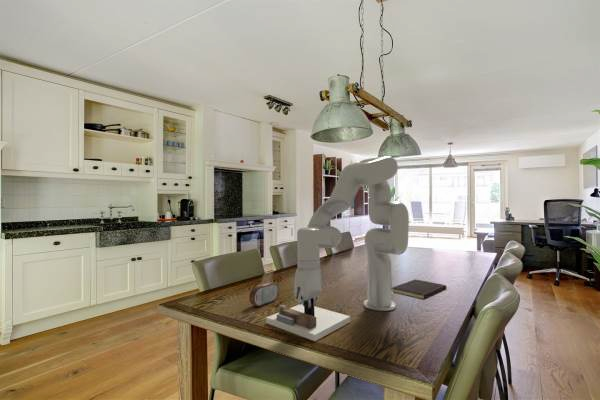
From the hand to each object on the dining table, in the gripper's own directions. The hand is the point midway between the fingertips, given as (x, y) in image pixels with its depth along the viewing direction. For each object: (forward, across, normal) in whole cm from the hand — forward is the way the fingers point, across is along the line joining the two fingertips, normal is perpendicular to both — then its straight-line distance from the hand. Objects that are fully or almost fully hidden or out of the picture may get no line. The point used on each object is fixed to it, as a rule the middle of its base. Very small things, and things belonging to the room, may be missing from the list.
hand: (309, 317), depth 107 cm
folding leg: (+1, +3, -3) cm, 5 cm away
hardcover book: (+5, -68, +12) cm, 69 cm away
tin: (+4, -7, -30) cm, 31 cm away
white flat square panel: (+3, -3, -3) cm, 5 cm away
